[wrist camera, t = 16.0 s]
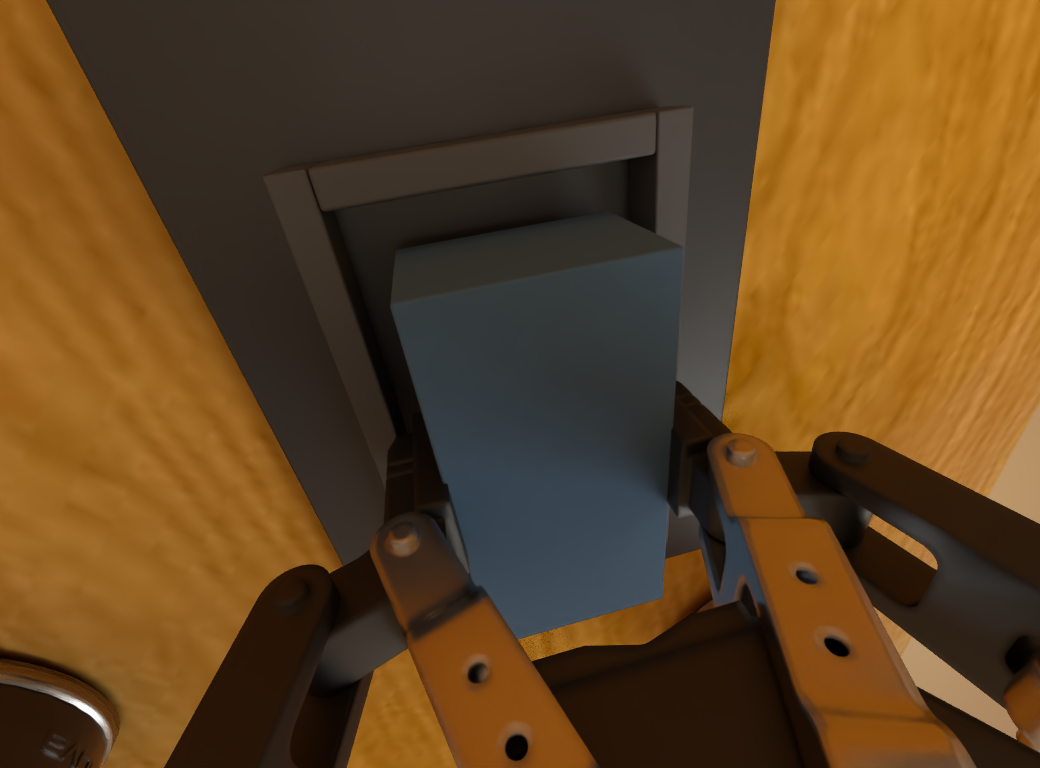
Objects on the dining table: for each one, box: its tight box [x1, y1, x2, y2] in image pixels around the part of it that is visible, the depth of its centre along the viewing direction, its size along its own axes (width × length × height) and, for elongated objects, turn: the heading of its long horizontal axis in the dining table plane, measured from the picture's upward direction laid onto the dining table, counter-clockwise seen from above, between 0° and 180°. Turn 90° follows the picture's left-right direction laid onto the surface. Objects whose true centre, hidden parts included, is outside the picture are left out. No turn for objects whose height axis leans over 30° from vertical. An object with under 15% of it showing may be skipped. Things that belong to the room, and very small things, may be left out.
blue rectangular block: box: [390, 211, 684, 639], centre depth 12 cm, size 10×5×4 cm, turn 8°
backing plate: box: [46, 0, 776, 578], centre depth 13 cm, size 20×14×2 cm
